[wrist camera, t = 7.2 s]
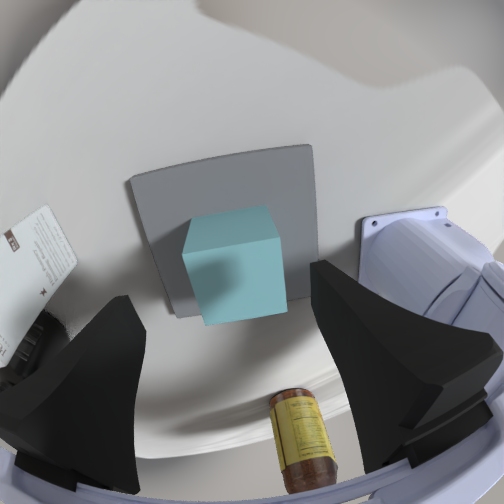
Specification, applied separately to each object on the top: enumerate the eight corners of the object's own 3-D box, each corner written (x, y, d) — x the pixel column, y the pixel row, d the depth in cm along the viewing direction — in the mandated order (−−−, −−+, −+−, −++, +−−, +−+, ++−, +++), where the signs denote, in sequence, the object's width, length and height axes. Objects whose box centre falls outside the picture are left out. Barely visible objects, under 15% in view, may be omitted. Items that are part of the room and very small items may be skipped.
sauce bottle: (294, 411, 34) (321, 533, 17) (258, 405, 32) (278, 542, 14) (325, 388, 32) (365, 522, 14) (288, 380, 29) (323, 536, 12)
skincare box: (81, 261, 20) (11, 372, 9) (51, 276, 20) (-13, 374, 9) (46, 199, 17) (-55, 284, 6) (18, 220, 17) (-67, 301, 6)
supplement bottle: (20, 324, 22) (-20, 399, 12) (32, 295, 21) (-21, 381, 10) (62, 357, 25) (33, 437, 15) (80, 335, 24) (44, 429, 13)
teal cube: (265, 204, 18) (280, 237, 14) (274, 267, 20) (287, 311, 16) (191, 218, 18) (181, 254, 14) (208, 279, 20) (205, 325, 16)
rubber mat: (307, 144, 17) (312, 145, 16) (315, 287, 23) (318, 294, 22) (134, 175, 17) (129, 178, 16) (178, 310, 23) (177, 318, 22)
